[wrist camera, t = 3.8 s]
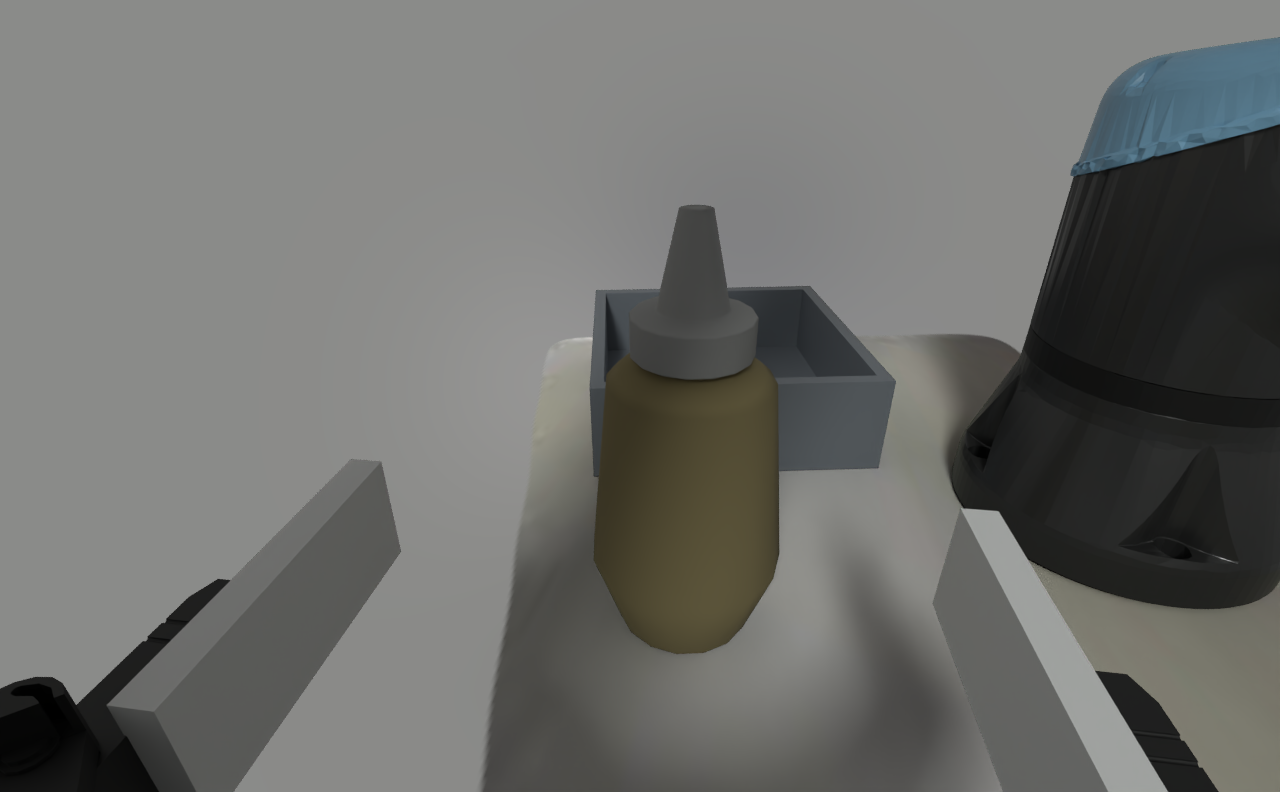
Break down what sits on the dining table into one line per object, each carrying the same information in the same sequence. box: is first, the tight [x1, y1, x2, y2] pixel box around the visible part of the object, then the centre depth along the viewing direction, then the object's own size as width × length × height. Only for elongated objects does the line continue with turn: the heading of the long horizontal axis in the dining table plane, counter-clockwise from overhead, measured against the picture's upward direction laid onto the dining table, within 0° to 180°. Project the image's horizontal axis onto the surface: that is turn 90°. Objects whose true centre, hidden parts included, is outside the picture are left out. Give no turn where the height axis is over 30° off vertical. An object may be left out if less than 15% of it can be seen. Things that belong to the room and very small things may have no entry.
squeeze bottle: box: [594, 205, 779, 654], centre depth 25 cm, size 8×8×18 cm
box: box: [590, 286, 896, 476], centre depth 45 cm, size 18×18×6 cm
